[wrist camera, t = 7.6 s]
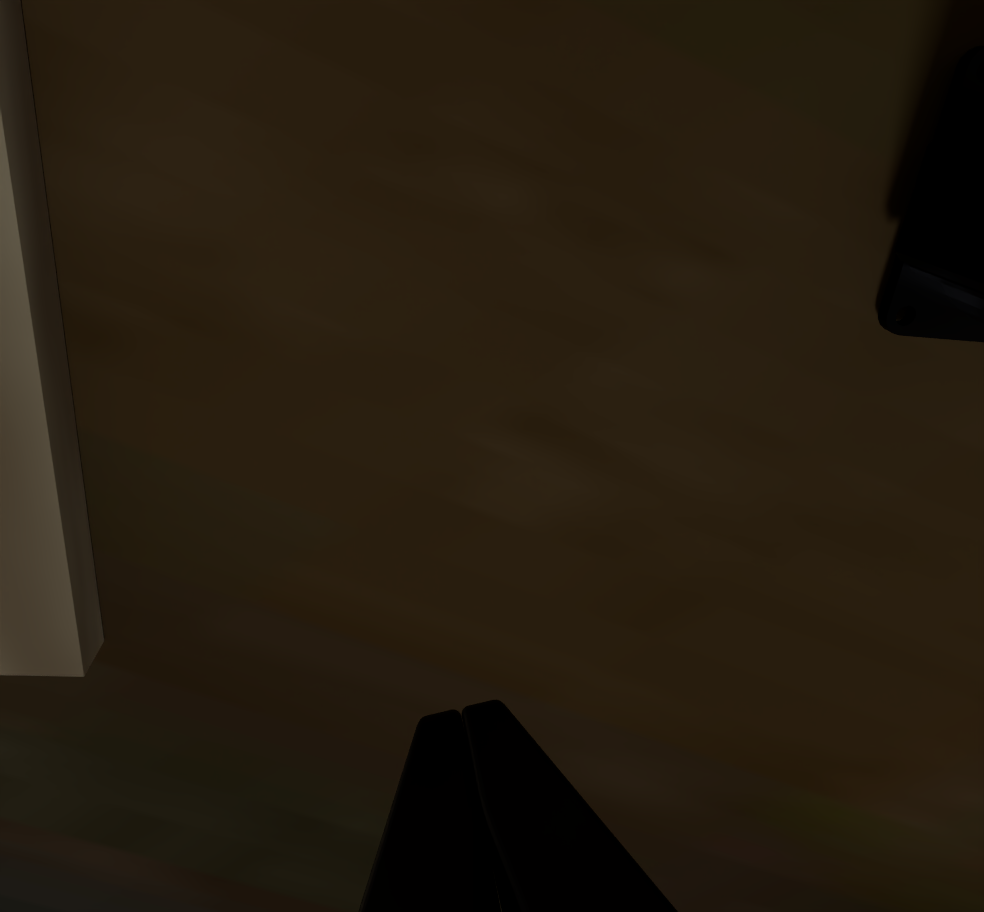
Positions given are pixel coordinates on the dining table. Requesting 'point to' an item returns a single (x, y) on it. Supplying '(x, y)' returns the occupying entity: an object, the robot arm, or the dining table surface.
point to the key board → (36, 412)
